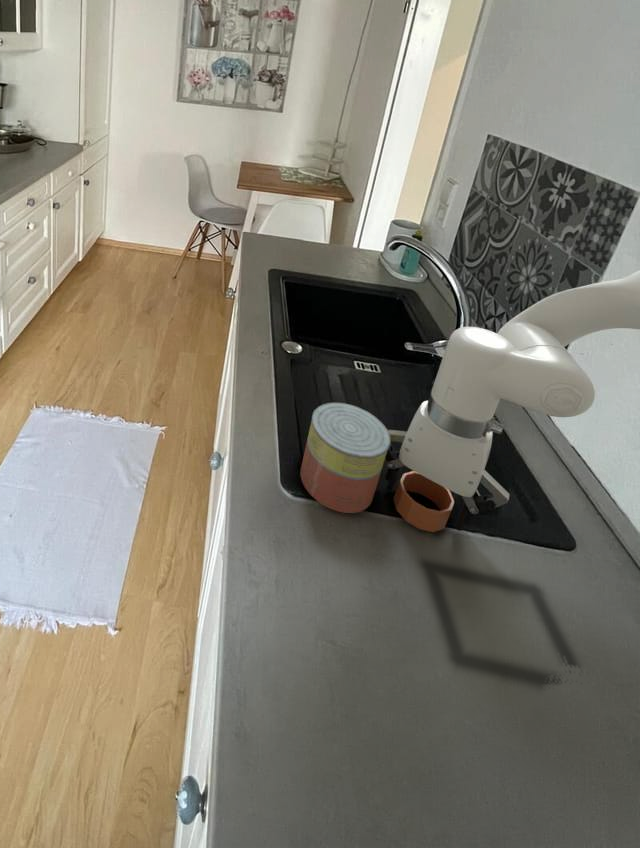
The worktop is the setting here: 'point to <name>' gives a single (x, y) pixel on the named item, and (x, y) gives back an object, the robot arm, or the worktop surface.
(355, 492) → the canned food
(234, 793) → the worktop surface
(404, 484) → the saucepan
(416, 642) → the worktop surface
